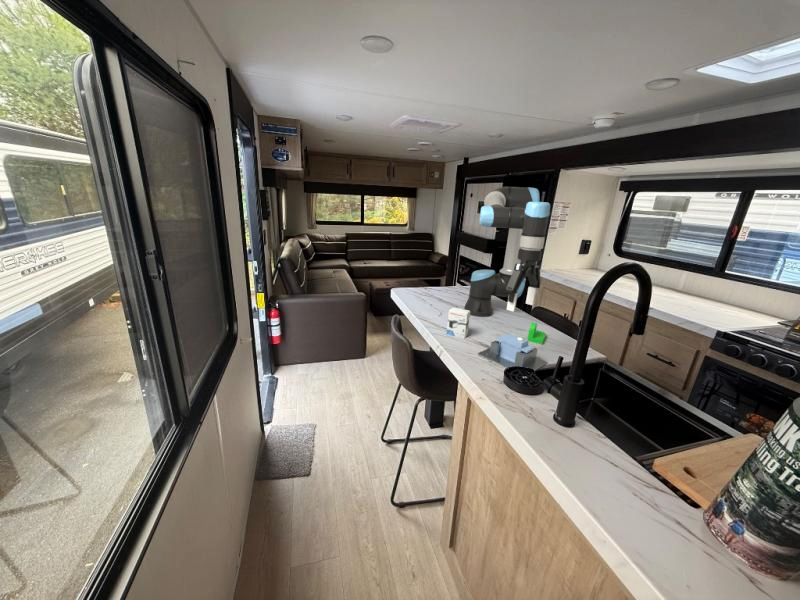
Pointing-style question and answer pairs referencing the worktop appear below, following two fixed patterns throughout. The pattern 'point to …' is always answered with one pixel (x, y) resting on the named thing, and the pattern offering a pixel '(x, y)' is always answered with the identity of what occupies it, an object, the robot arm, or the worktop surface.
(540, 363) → the chassis pocket
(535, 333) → the mechanical part
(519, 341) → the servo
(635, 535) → the worktop surface
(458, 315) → the ink box
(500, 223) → the robot arm
